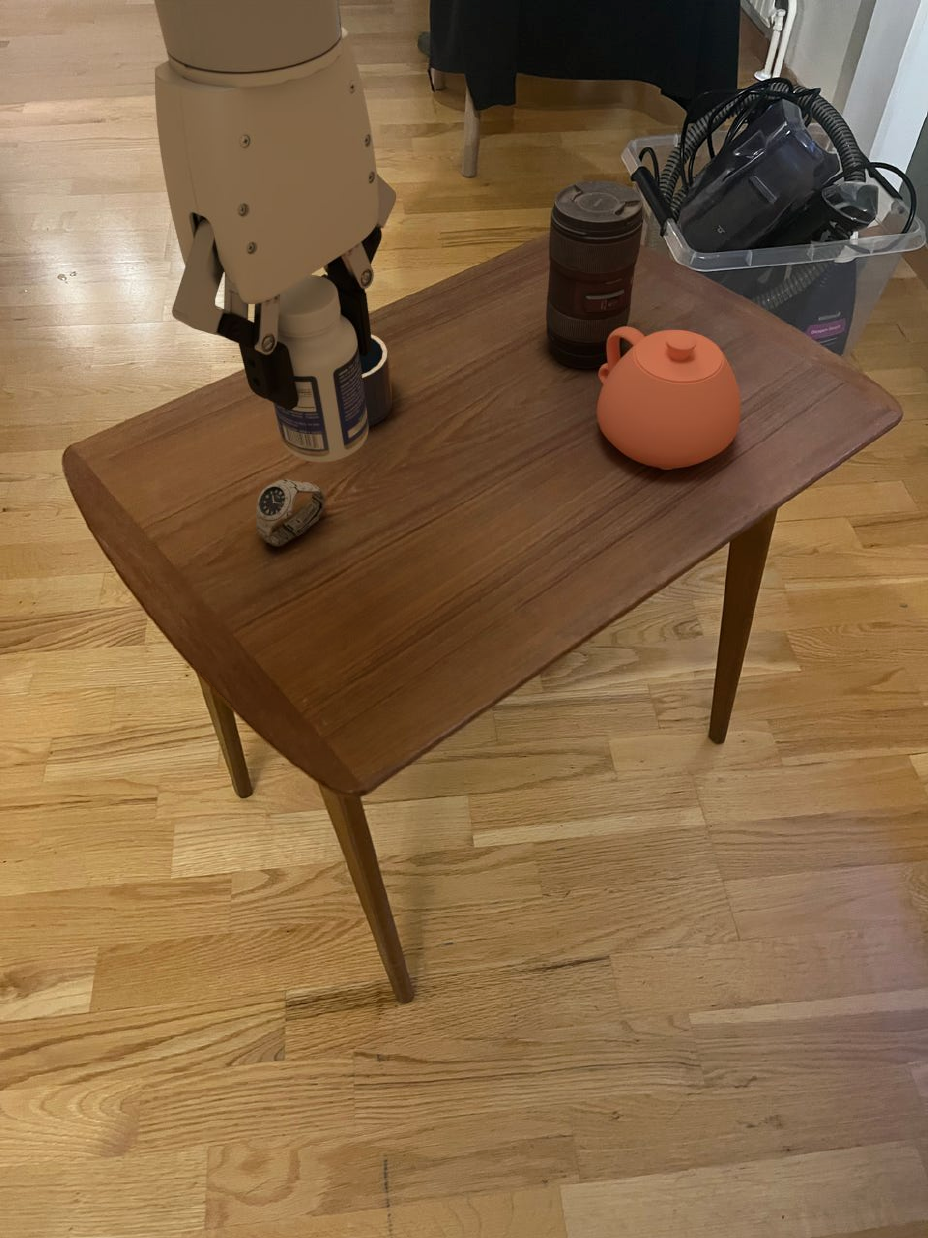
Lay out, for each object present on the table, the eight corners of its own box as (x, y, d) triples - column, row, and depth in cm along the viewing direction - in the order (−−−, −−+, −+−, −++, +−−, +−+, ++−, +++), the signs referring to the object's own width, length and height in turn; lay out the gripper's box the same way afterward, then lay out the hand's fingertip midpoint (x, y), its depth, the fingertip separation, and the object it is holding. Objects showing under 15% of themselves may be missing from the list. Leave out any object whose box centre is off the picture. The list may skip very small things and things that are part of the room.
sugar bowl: (670, 504, 76) (692, 407, 68) (552, 425, 83) (559, 327, 75) (761, 438, 81) (790, 340, 73) (642, 368, 88) (657, 271, 80)
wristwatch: (253, 538, 75) (240, 494, 71) (312, 500, 78) (302, 456, 74) (279, 561, 73) (267, 517, 70) (338, 521, 76) (330, 477, 72)
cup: (294, 410, 85) (284, 361, 81) (348, 369, 89) (341, 320, 85) (356, 442, 82) (348, 392, 78) (409, 398, 86) (404, 348, 82)
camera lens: (636, 334, 91) (658, 186, 80) (609, 381, 87) (628, 231, 75) (560, 316, 94) (571, 169, 82) (530, 360, 89) (537, 212, 77)
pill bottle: (351, 398, 58) (331, 257, 51) (382, 449, 55) (366, 306, 48) (270, 422, 57) (237, 280, 49) (297, 475, 54) (267, 333, 46)
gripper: (325, -57, 44) (364, 284, 58) (24, 60, 36) (155, 424, 50) (446, -27, 41) (456, 324, 55) (149, 109, 33) (251, 481, 47)
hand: (313, 369), depth 52 cm, fingers closed on pill bottle, 5 cm apart
